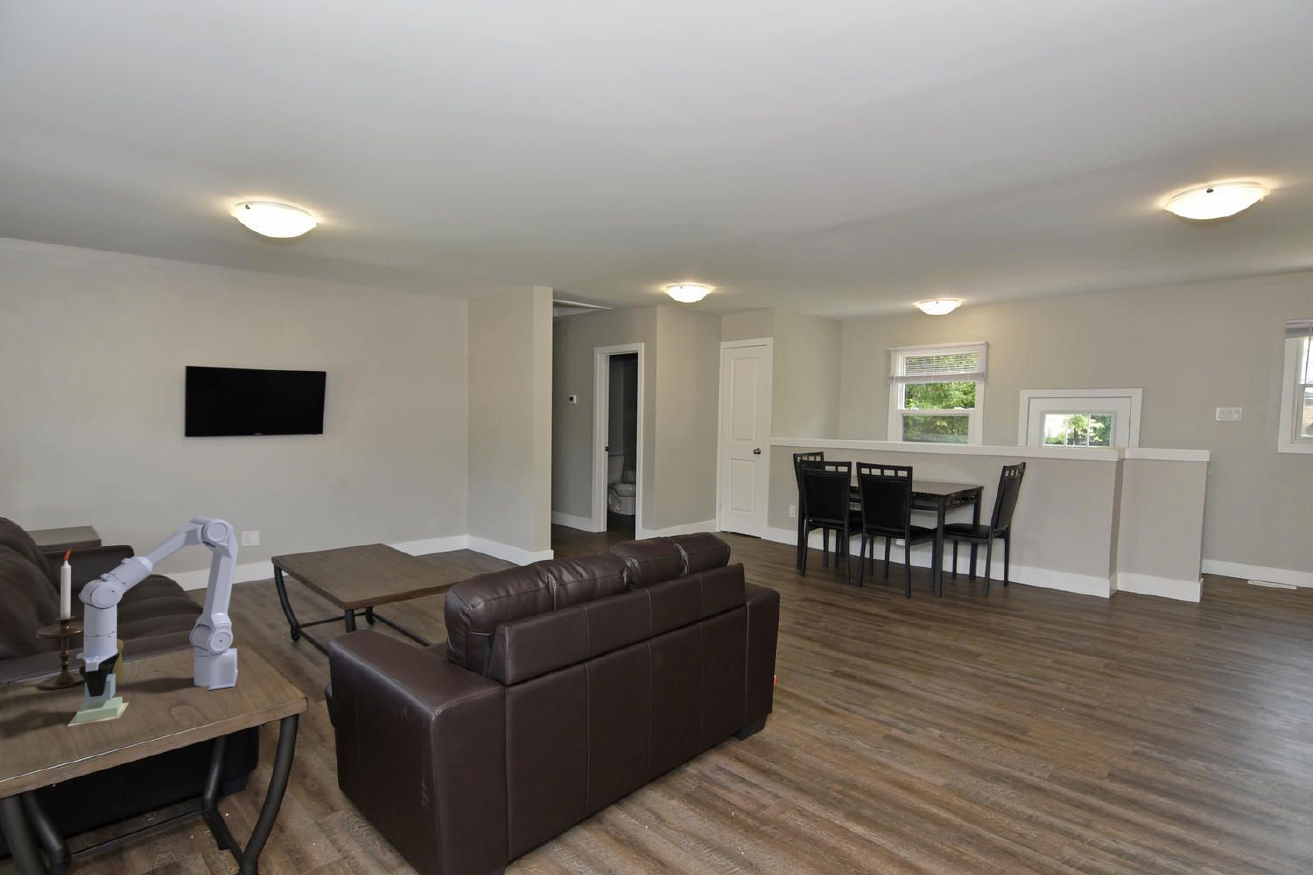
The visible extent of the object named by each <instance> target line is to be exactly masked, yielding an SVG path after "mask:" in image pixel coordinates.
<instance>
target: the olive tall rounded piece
mask: <svg viewBox="0 0 1313 875" xmlns="http://www.w3.org/2000/svg"><path fill="white" fill-rule="evenodd" d="M124 644H125V643H124V642H123V640H122V639H119V638H117V649H118V652H117V653H120V656H119V658H118V659H117V661H116V663H115V666H114V669H113V672H112V674H116V677H115V684H120V683H123V682H124V681H125V680H126V676H125V669H124V663H123V657H122V651H123V650H124Z"/></svg>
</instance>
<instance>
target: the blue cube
mask: <svg viewBox="0 0 1313 875" xmlns="http://www.w3.org/2000/svg"><path fill="white" fill-rule="evenodd" d="M115 677H116V674H108V676H107V679H106V685H105V690H104V693H103V695H102V696H95V697H91V696H90V694H89V691H88V687H87V684H86V682H84V702H85V704H86V703H93V702H100V701H107V700H111V698H114V695H115V694H116V683H115Z"/></svg>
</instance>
